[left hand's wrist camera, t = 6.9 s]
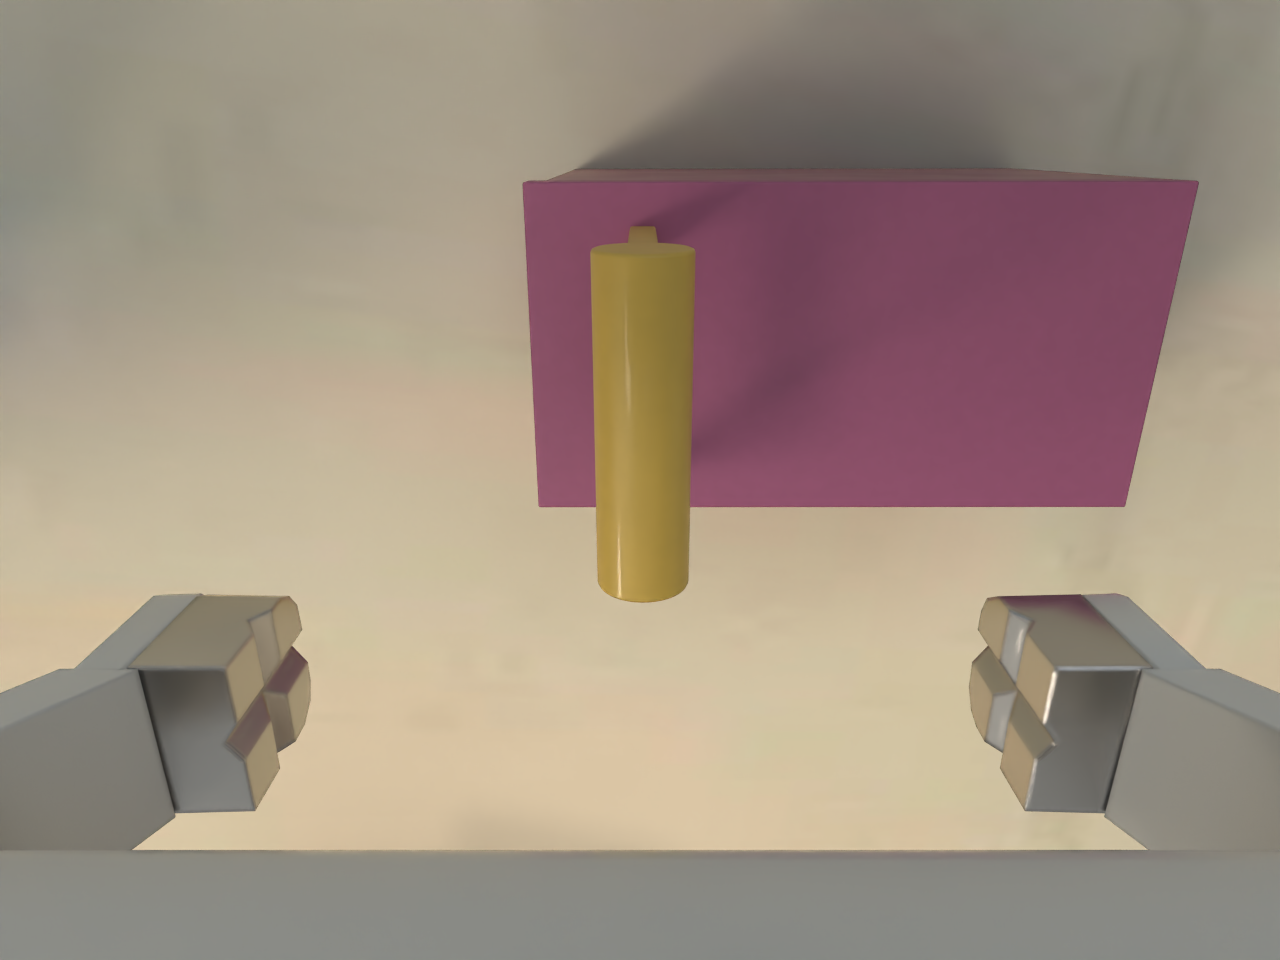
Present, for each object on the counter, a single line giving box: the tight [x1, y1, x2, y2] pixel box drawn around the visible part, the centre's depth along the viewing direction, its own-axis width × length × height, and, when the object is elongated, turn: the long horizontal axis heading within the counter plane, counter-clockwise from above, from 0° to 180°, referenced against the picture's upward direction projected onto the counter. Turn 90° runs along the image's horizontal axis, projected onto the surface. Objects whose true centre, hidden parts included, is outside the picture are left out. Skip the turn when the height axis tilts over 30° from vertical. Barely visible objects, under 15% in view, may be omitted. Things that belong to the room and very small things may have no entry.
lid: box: [523, 180, 1199, 602], centre depth 21 cm, size 18×10×9 cm, turn 90°
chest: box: [547, 168, 1173, 181], centre depth 31 cm, size 18×10×11 cm, turn 90°
